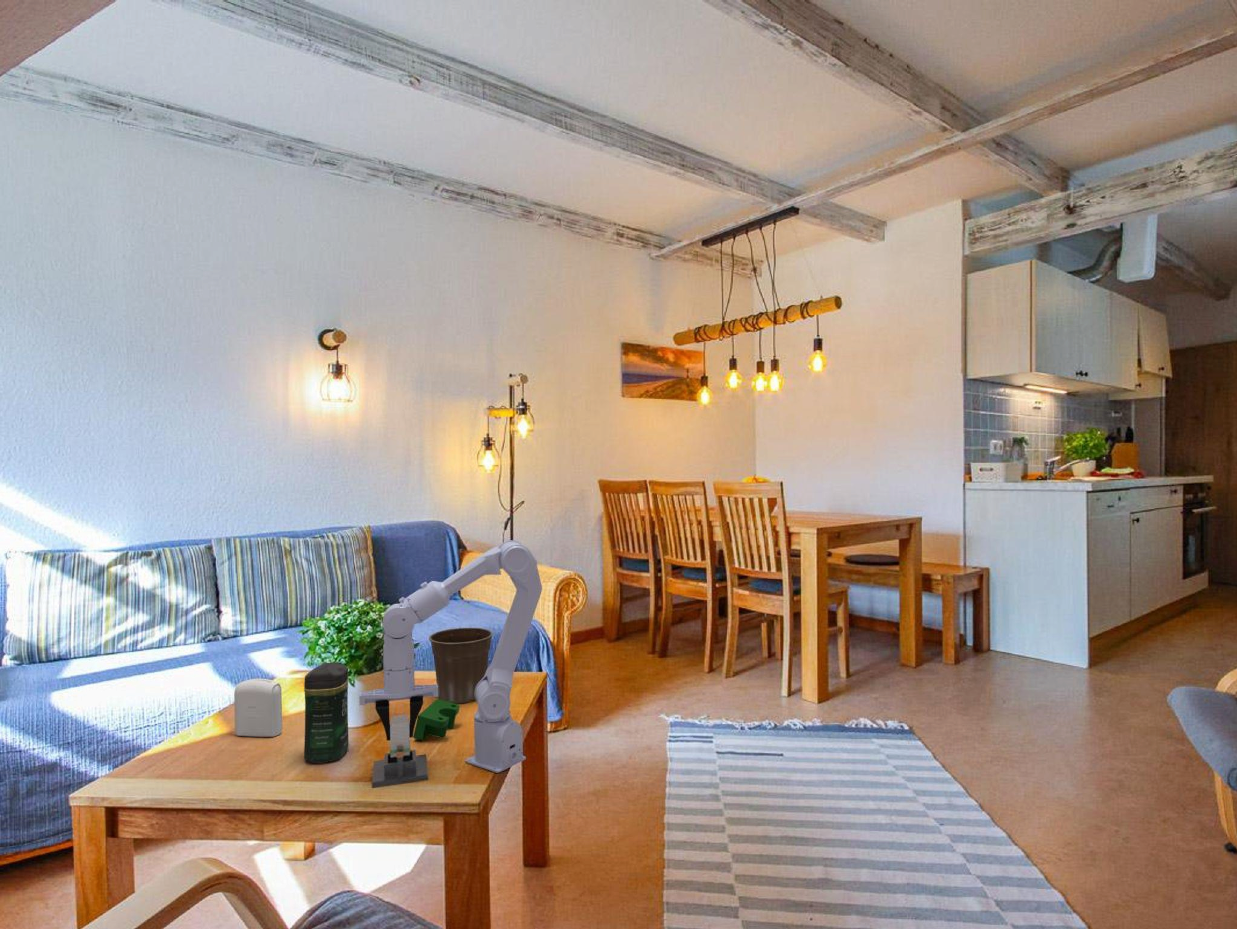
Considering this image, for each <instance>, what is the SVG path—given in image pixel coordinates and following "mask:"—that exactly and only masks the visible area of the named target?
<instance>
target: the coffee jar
mask: <svg viewBox="0 0 1237 929" xmlns="http://www.w3.org/2000/svg"><path fill="white" fill-rule="evenodd" d="M348 668H349V667H348V666H347V665H345V664H343V662H341V661H340V662H322V664H320V665H318V666H316V667H314V668H313V669H312V670H310V671H309V672H308V673H306V675H305V676H304V683H303V685H304V686H303V687H304V688H303V692H304V746H303V747H304V748H303V750H304V751H303V753H304V754H303V755H304V756H303V758H304V760H305V761H306V762H309V763H315V764H326V763H327V762H331V761H337V760H339V759H340V758H342V757H343V755H345V754H346V752H347V751H348V748H349V745H350V744H349V742H350V741H349V706H348V704H349V702H348V698H349V697H348V696H349V695H348V694H349V689H348V688H349V669H348Z"/></svg>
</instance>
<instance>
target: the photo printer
mask: <svg viewBox="0 0 1237 929" xmlns="http://www.w3.org/2000/svg"><path fill="white" fill-rule="evenodd" d="M233 695H234V696H233V697H234V702H233V703H234V731H235V735H236V736H239V737H241V736H242V737H261V738H262V737H267V738H268V737H270V738H271V737H273V738H274V737H278V736H279V735H281V733H282V731H283V705H282V704H283V702H282V701H283V700H282V698H283V697H282V685H281V684H280V683H279V682H277V681H274V680H272V679H267V678H249V679H246V680H243V681H240V682H238V683H237V684H236V686H235V689H234V694H233Z"/></svg>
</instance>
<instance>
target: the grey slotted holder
mask: <svg viewBox="0 0 1237 929" xmlns="http://www.w3.org/2000/svg"><path fill="white" fill-rule="evenodd" d="M416 751H417V750H416V749H410V755H406V756H403V752H397V757H391V754H390V752H386V753H384V759H380V760H374V761H373V769H372V777H371V778H372V780H371V788H372V789H373V788H374V789H375V788H380V787H386V786H394V785H402V784H407V783H409V784H410V783H414V782H422V781H423V782H424V781H428V780H429V772H428V771H429V768H428V760H427V754H425V753H423V754H418V755H417V754H416Z"/></svg>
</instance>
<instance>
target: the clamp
mask: <svg viewBox="0 0 1237 929" xmlns="http://www.w3.org/2000/svg"><path fill="white" fill-rule="evenodd" d="M459 711H460V705H459V704H454V703H451V702H447V701H444V700H441V699H439V698H436V699H435V700H434V701H433V702H432V703H430V704H429V705H428V706H427V707H425V709H424V710H422V712H421V711H420V712H419V714H418V717H417V720H416V723H415V727H414V732H413V737H412V738H413V739H416V740H419V741H423V740H424V741H425V740H426V739H427V738H428V737H429V736H434V737H437V738H441V739H445V738H446V735H447V730H453V729H454V726H455V722H456V721H455V720H456V719H457V718H456V717H457V715H458V714H459ZM429 734H430V735H429ZM424 741H423V742H424Z"/></svg>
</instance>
